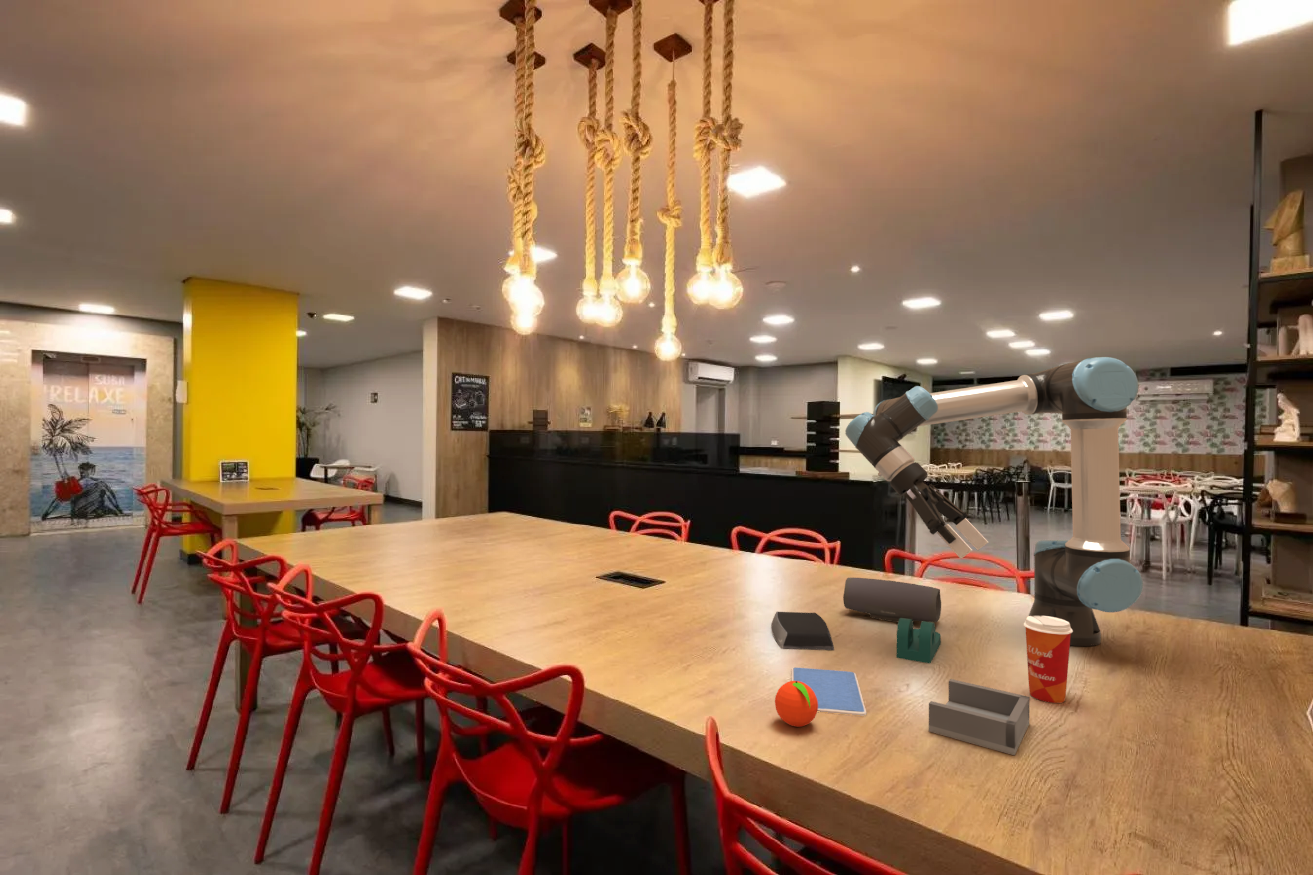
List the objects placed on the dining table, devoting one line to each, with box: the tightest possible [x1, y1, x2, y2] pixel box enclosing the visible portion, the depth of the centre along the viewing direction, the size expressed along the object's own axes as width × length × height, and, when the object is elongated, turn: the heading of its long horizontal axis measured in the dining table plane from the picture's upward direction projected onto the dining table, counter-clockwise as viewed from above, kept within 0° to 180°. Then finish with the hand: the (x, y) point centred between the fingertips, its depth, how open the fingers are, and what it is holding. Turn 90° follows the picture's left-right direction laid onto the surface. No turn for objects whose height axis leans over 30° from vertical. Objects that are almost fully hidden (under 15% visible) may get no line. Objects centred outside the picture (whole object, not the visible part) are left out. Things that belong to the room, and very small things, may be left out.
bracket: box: [895, 618, 942, 665], centre depth 142 cm, size 18×7×8 cm, turn 148°
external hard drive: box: [770, 611, 835, 651], centre depth 151 cm, size 13×19×4 cm
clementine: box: [774, 680, 818, 728], centre depth 104 cm, size 8×7×7 cm
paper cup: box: [1023, 615, 1073, 704], centre depth 116 cm, size 8×8×14 cm
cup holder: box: [928, 678, 1031, 756], centre depth 104 cm, size 12×13×4 cm
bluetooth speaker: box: [842, 577, 942, 623], centre depth 165 cm, size 23×9×10 cm, turn 58°
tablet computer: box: [790, 667, 867, 717], centre depth 118 cm, size 19×13×1 cm, turn 168°
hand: (975, 550), depth 129 cm, fingers open, 13 cm apart
